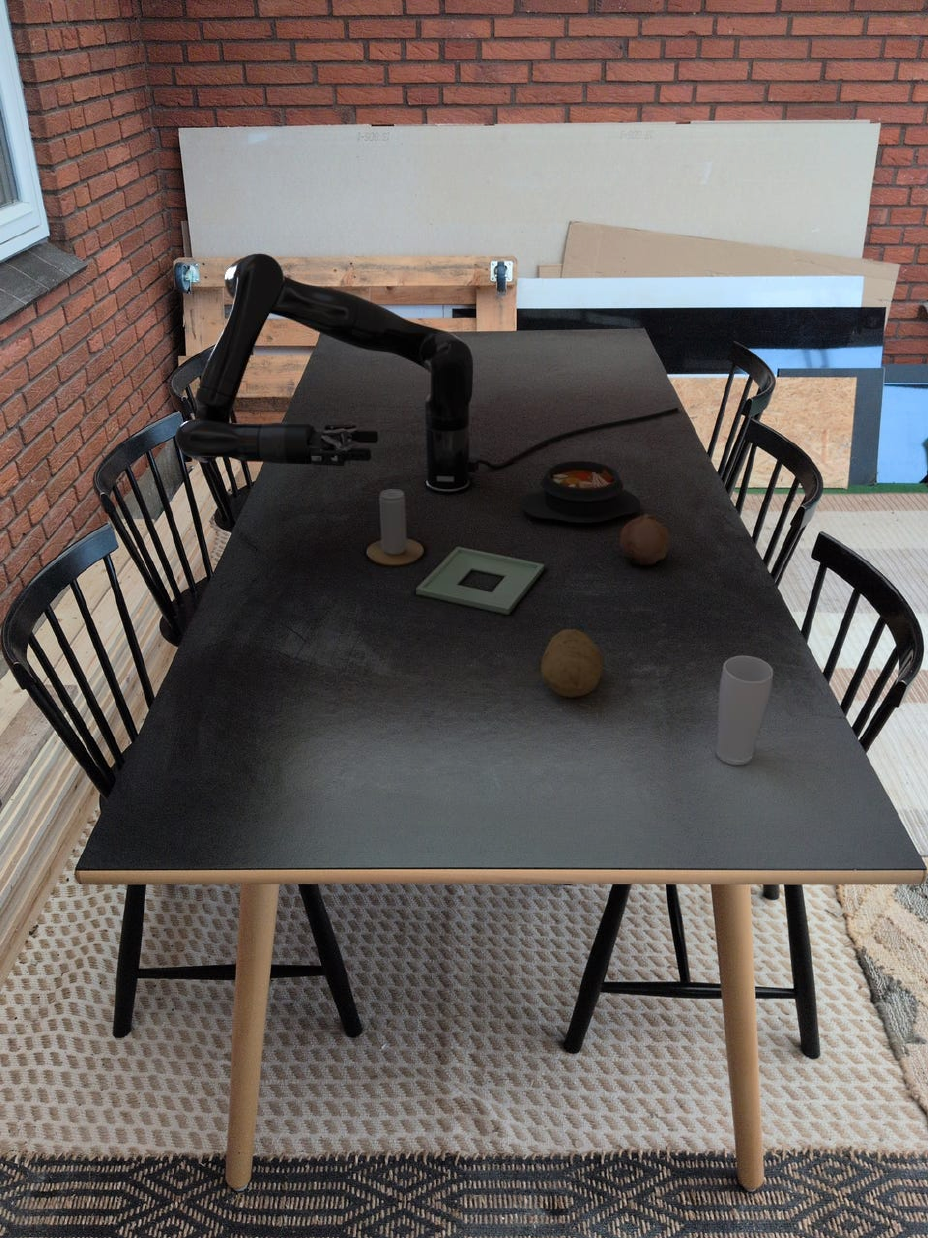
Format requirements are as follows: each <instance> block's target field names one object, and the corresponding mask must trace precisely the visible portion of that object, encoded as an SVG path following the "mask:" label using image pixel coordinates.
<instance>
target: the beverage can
mask: <svg viewBox="0 0 928 1238" xmlns="http://www.w3.org/2000/svg"><path fill="white" fill-rule="evenodd" d="M406 513H407V511H406V496H405V492H404V491H403V490H401V489H399V488H389V489H385V490H382V491H381V492H380V493H379V515H380V540H382V550H383V551H384V552H385V553H387V554H389V555H399V554H402V553H403V552H404V551H405V550H406V548H407V541H406V538H407V518H406V517H407V516H406V515H407V514H406Z"/></svg>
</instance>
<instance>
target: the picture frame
mask: <svg viewBox="0 0 928 1238" xmlns="http://www.w3.org/2000/svg"><path fill="white" fill-rule="evenodd" d="M472 571H476V572H480V573H485V574H491V575H495V576H500V577H503V578H502V580H501V581H500V582H499V583H498V584H497V585H496V587H495V588H494V589H493V590H492V591H487V590H482V589H479V588H475V587H474V588H473V587H468V586H464V585H460V583H462V581H463V580H464V579H465V578H466V577H467V576H468V575H469V573H470V572H472ZM544 571H545V564H544V563H540V562H534V561H529V560H524V559H520V558H514V557H510V556H505V555H500V554H496V553H490V552H486V551H481V550H476V549H472V548H471V549H470V548H467V547H462V546H457V547H455V548H454V549H453V551H451V552H450V554H448V555H447V556H446V558H444V559H443V561H442V562H440V564H439V565H438V566H437V567H436V568H434V569H433V571H432V572H431V573H430V574H429V575H428V576H426V578H425V579H424V580H423V581H422V582H421V583H420V584H418V586H417V587H416V589H415V593H416V595H419V596H423V597H428V598H432V599H437V600H440V601H441V600H442V601H445V602H449V603H454V604H458V605H463V606H468V607H472V608H477V609H481V610H485V611H490V612H494V613H499V614H503V615H507V616H509V615H510V614H511V612H512V611H513V610H514V609H515V607H516V606H517V605H518V603H519V602H520V601H521V599H523V597H524V596H525V594H526V593H527V592H528V591H529V590H530V589H531V587H532V586H533V585H534V584H535V582H536V581H537V579H538V578H539V577H540V576H541V575H542V573H543V572H544Z"/></svg>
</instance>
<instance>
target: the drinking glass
mask: <svg viewBox="0 0 928 1238" xmlns="http://www.w3.org/2000/svg"><path fill="white" fill-rule="evenodd" d="M773 681H774V669H773V667H772V666H771V665H770V664H769V663H768V662H766V661H765V660H763V659H761V658H759V657H756V656H753V655H752V656H751V655H735V656H732V657H730V658H727V659H726V660H725V662H724V663H723V666H722V671H721V675H720V681H719V687H718V704H717V705H718V706H717V722H716V724H717V725H716V739H715V740H716V741H715V746H716V748H717V750H718V751H719V752H720V753H721V754H722V755H724V756H726V757H728V758H733V759H735V760H736V759H737V760H742V759H747V758H749V757H751V756H752V755H753V753H754V754H755V749H756V745H757V742H758V738H759V734H760V731H761V727H762V724H763V721H764V718H765V714H766V711H767V709H768V705H769V702H770V701H769V700H770V696H771V692H772V687H773ZM714 753H715V755H716V757H717V758H718V759H719V760H720V761H721V762H723V763H724V764H727V765H730V766H745V765H746V764H748V763H750V762H751V761H752V760H753V758H754V755H753V757H752V758H751V759H749V760H747V761H744V762H733V761H729V760H726V759H724V758H722V757H721V756H720V755H719V754H718V753H717V752H716V749H715V748H714Z"/></svg>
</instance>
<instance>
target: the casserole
mask: <svg viewBox="0 0 928 1238" xmlns="http://www.w3.org/2000/svg"><path fill="white" fill-rule="evenodd" d="M540 487H541V488H542V490H537V491H533V492H529V493H526V494H525V495H524V496H523V497H522V498H521V501H520V506H521V509H523V511H524V512H525V513H526V514H528V515H530V516H531V517H534V518H538V519H543V520H544V519H545V520H556V521H561V522H562V521H563V522H566V523H567V522H568V523H573V524H574V523H575V524H594V523H601V522H606V521H609V520H612V519H615V518H618V517H622V516H627V515H632V514H636V513H637V512H639V510H641V502H640V500H639V498H638V497H637V496H636V495H635V494H633V493H632V492H631V491H628V490H627V489H624V484H623V481H622V479H620V476H619V473H618V472H617V470H615V468H613V467H610V466H608V465H606V464H603V463H600V462H594V461H586V460H573V461H565V462H560V463H557V464H555V465H552V466H550V467H549V468H548V469H547V470H546V473H545V475H544V476H543V477H542V478H541V480H540Z"/></svg>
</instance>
